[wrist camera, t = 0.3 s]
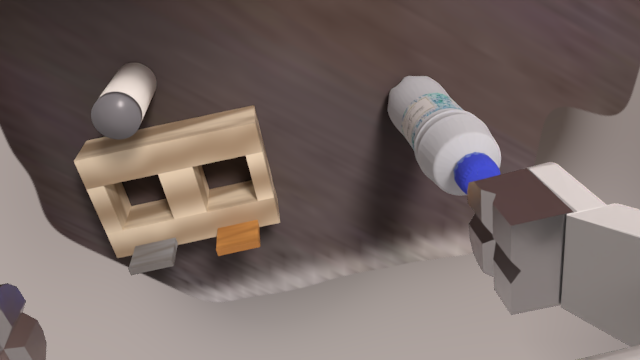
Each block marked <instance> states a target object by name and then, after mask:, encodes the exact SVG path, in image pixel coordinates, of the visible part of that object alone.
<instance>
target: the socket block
mask: <svg viewBox="0 0 640 360" xmlns="http://www.w3.org/2000/svg"><path fill="white" fill-rule="evenodd" d="M241 156H246V159H247V163H248V167H249V170H250V174H251V178H252V180H250V181H246V182H241V183H236V184H232V185H227V186H222V187H218V188H213V189H209V187H208V183H207V180H206V177H205V174H204V171H203V168H202V165H204V164H208V163H213V162H218V161H222V160H227V159H232V158H236V157H241ZM74 163H75V165H76V167H77V170H78V172H79V174H80V176H81V179H82V181H83V183H84V185H85V187H86V190H87V192H88V194H89V196H90V198H91V201H92V203H93V205H94V207H95V210H96V212H97V214H98V216H99V218H100V221H101V223H102V225H103V227H104V230H105V232H106V234H107V236H108V238H109V241H110V243H111V245H112V247H113V249H114V252H115V254H116V256H117V258H121V257H125V256H130V255H133V256H132V259H131V262H130V266H129V272H130V274H131V275H134V274H139V273H144V272H148V271H153V270H157V269H162V268H166V267H171V266H174V262H175V256H176V251H177V245H180V244H185V243H189V242H194V241H198V240H203V239H207V238H212V237H217V244H216V251H217V254H218V256H221V255H225V254H230V253H234V252H239V251H244V250H248V249H253V248H257V247H260V231H259V227H262V226H267V225H271V224H276V223H280V217H279V208H278V200H277V196H276V192H275V188H274V184H273V180H272V176H271V172H270V168H269V164H268V160H267V156H266V152H265V147H264V143H263V139H262V135H261V131H260V127H259V123H258V119H257V115H256V111H255V107H254V105H253V106H248V107H243V108H238V109H234V110H229V111H224V112H219V113H215V114H210V115H205V116H200V117H196V118H191V119H186V120H182V121H177V122H172V123H167V124H163V125H158V126H153V127H148V128H144V129H139V130H137V132H136V133H135V134H134V135H132V136H131V137H129V138H126V139H120V140H117V139H111V138H108V137H101V138H96V139H91V140H87V141H86V142H85V144H84V146H83V147H82V149H81V150H80V152H79V154H78V155H77V157H76V158H75V160H74ZM157 174H158V176H159V179H160V182H161V184H162V187H163V190H164V192H165V195H166V198H167V199H162V200H158V201H153V202H148V203H144V204H139V205H134V206H131V204H130V201H129V199H128V196H127V194H126V192H125V189H124V187H123V184H122V182H124V181H129V180H133V179H138V178H143V177H147V176H152V175H157Z"/></svg>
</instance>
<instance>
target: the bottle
mask: <svg viewBox="0 0 640 360" xmlns="http://www.w3.org/2000/svg"><path fill="white" fill-rule="evenodd" d="M387 111H388V114H389V117H390V119H391V121H392V122H393V124H394V125H395V127H396V128H397V129H398V130H399V131H400V132H401V133H402V134H403V135H404V137H405V138H406V140H407V141H408V143H409V144H410V145H411V147H412V148H413V150H414V153H415V157H416V160H417V162H418V164H419V166H420V168H421V170H422V171H423V173H424V174H425V175H426V176H427V177H429V178H430V179H431V180H432V181H433V182H434V183H435V184H436V185H437V186H439V187H440V188H441V189H442V190H444V191H445V192H447V193H450V194H453V195H467V189H468V184H469V182H473V181H477V180H481V179H485V178H489V177H493V176H497V175H500V170H499V167H500V162H501V153H500V149H499V146H498V144H497V143H496V141H495V139H494V138H493V136H492V135H491V133H490V132H489V130H488V128H487V126H486V125H485V124H484V123H483V122H482V121H481V120H480V119H478V118H477V117H476V116H474V115H473V114H471V113H469V112H467V111H464V110H463V109H462V108H461V107H460V106H458V105H457V104H456V103H455V102H454V101H453V100H452V99H451V98H450V97H449V95H448V94H447V93H446V91H445V90H444V89H443V88H442V86H441V85H440V84H438V83H437V82H436V81H434V80H433V79H431V78H430V77H427V76H407V77H405V78H403V80H402V81H401V82H400V83H399V84H398V85H397V86H396V87H394V88H392V89H391V91H390V93H389V101H388V109H387Z"/></svg>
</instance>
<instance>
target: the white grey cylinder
mask: <svg viewBox="0 0 640 360" xmlns="http://www.w3.org/2000/svg"><path fill="white" fill-rule="evenodd" d="M156 86H157V81H156V77H155V75H154V73H153V72H152V71H151V70H150V69H149V68H148V67H147V66H145V65H143V64H141V63H135V62H133V63H127V64H125V65H123V66H122V67H121V68H120V69H119V70H118V71H117V73H116V74H115V76H114V77H113V78H112V80H111V81H110V83H109V84H108V86H107V87H106V88H105V90H104V91H103V93H102V94H101V95H100V97H99V98H98V100H97V101H96V102H95V104H94V105H93V108H92V111H91V119H92V122H93V125H94V126H95V128H96V129H97V130H98V131H99V132H100V133H101V134H102V135H104V136H106V137H108V138H111V139H117V140H120V139H126V138H129V137H131V136H132V135H134V134H135V133H136V132H137V130H138V128H139V126H140V124H141V122H142V120H143V117H144V115H145V113H146V111H147V108H148V106H149V104H150V101H151V99H152V97H153V95H154V92H155V90H156Z"/></svg>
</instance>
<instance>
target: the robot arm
mask: <svg viewBox="0 0 640 360" xmlns="http://www.w3.org/2000/svg"><path fill="white" fill-rule="evenodd" d="M467 200H468V204H469V206H470V207H471V208H472V210H473V211H474V212H475V214H474V216H473V217H472V219H471V221H470V222H469V236H470V242H471V246H472V250H473V254H474V256H475V258H476V261H477V263H478V265H479V266H480V268H481V269H482V271H483V272H484V273H485V274H488V275H490V276H492V277H494V290H495V291H496V293H497V294H498V296H499V297H500V299H501V300H502V302H503V303H504V305H505V306H506V308H507V309H508V311H509V312H510V314H511V315H513V314H519V313H523V312H528V311H533V310H538V309H543V308H548V307H553V306H558V305H561V308H563V309H565V310H566V311H568V312H570V313H572V314H574V315H575V316H577V317H579V318H581V319H582V320H584V321H586V322H588V323H590V324H592V325H593V326H595V327H597V328H598V329H600V330H602V331H604V332H606V333H607V334H609V335H611V336H613V337H615V338H616V339H618V340H620V341H621V342H623V343H625V344H627V345H629V346H630V347H629V348H624V349H620V350H616V351H611V352H607V353H603V354H598V355H595V356H590V357H586V358H582V359H578V360H640V209H635V208H632V207H628V206H625V205H621V204H617V203H615V204H610V205H606V204H605V203H604V202H603V201H601V200H600V199H599V198H598V197H597V196H595V195H594V194H593V193H592V192H591V191H589V190H588V189H587V188H586V187H585V186H583V185H582V184H581V183H580V182H578V181H577V180H576V179H575V178H574V177H572V176H571V175H570V174H569V173H567V172H566V171H565V170H564V169H563V168H561V167H560V166H559V165H558V164H557V163H553V162H548V163H544V164H540V165H536V166H532V167H528V168H525V169H521V170H517V171H513V172H509V173H505V174H501V175H497V176H493V177H489V178H485V179H481V180H477V181H473V182H469V184H468V189H467ZM25 302H26V300H25V299H24V297H23V296H22V294H21V293H20V291H19V290H18V288H17V287H16V286H13V285H10V284H8V283H7V284H2V285H0V360H46V340H45V336H44V333H43V330H42V328H41V326H40V325H39V323H38V321H37V320H36V319H34V318H32V317H30V316H29V315H27V314H25V313H23V309H24V305H25Z"/></svg>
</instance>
